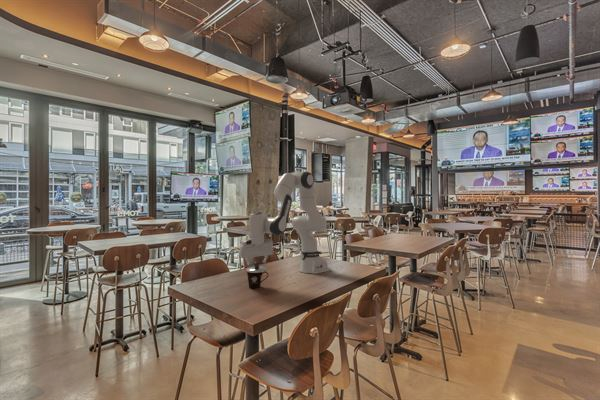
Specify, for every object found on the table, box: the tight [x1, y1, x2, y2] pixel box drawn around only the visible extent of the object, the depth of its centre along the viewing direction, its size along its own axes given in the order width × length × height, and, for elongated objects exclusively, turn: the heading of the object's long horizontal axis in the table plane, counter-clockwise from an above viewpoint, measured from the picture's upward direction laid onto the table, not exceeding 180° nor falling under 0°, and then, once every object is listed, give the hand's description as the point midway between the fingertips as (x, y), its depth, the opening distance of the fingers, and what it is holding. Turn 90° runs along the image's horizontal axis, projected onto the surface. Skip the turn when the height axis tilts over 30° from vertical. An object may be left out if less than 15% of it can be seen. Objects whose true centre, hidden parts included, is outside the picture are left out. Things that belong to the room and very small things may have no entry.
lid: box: [246, 261, 268, 273], centre depth 174 cm, size 12×12×5 cm
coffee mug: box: [246, 271, 269, 290], centre depth 174 cm, size 12×9×10 cm
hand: (256, 264), depth 174 cm, fingers open, 8 cm apart
